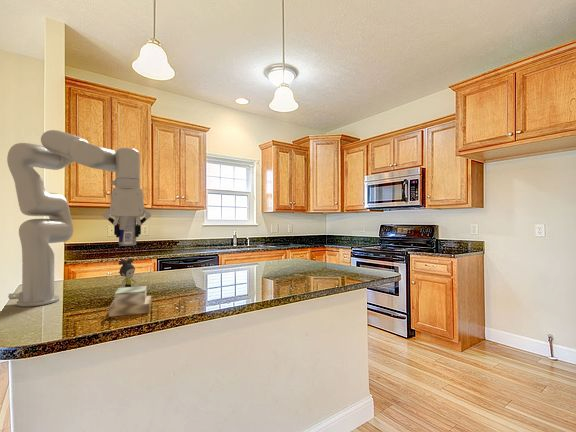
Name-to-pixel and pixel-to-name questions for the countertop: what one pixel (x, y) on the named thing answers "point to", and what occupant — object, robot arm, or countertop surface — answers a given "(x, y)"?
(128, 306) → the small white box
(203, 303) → the countertop surface
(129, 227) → the energy drink
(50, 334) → the countertop surface
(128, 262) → the toy
